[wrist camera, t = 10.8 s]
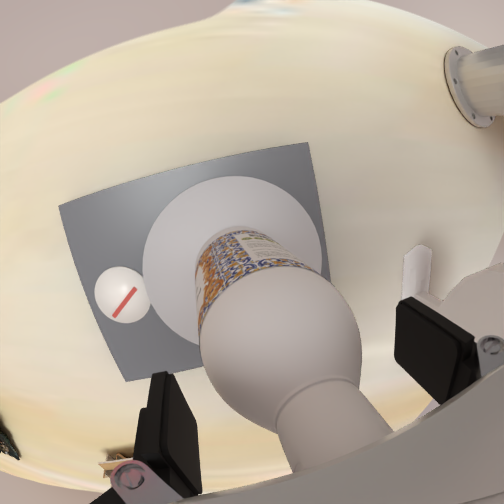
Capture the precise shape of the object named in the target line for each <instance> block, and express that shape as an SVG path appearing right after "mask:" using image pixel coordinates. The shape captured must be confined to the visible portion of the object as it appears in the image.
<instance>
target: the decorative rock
mask: <svg viewBox="0 0 504 504" xmlns="http://www.w3.org/2000/svg"><path fill="white" fill-rule="evenodd" d="M1 451H2V452H3V453H4V454H8V455H10V456H12V457H14V458H16V459H17V460H20V459H19V457H18V454H17V452H16V450H14V448H13V446H12V445H11V444H10V441H9V439H8V438H7V435H5V434H4V433H3V432H2V433H1V431H0V453H1Z"/></svg>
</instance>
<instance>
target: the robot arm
mask: <svg viewBox="0 0 504 504" xmlns="http://www.w3.org/2000/svg"><path fill="white" fill-rule="evenodd" d="M445 74H446V79H447V83H448V86H449V89H450V92H451V94H452V97H453V99H454V101H455V103H456V105H457V107H458V108H459V110H460V111H461V113H462V114H463V115H464V117H465V118H466V119H467V120H468V121H469V122H470V123H471V124H473V125H474V126H476V127H480V128H482V127H488V126H490V125H491V124H492V123H493V121H494V119H495V116H501V115H504V45H501V46H497V47H493V48H489V49H485V50H482V51H478V52H474V53H472V52H471V51H469V50H468V49H466V48H464V47H460V46H458V47H454V48H452V49H450V50H449V51H448V52H447V54H446V57H445ZM474 339H475V336H473V335H472V334H470V333H469V332H467V331H466V330H464V329H463V328H461V327H460V326H458V325H457V324H455V323H453V322H452V321H450V320H449V319H447V318H446V317H444V316H443V315H441V314H439V313H438V312H436V311H435V310H433V309H431V308H430V307H428V306H427V305H425V304H423V303H422V302H420V301H419V300H417V299H415V298H414V297H412V296H411V297H408V298H405V299H403V300H401V301H399V303H398V306H397V307H396V329H395V348H394V358H395V360H396V362H397V363H398V364H399V365H400V366H401V367H402V368H403V369H404V370H405V371H406V372H407V373H408V374H409V375H410V376H411V377H412V378H413V379H414V380H415V381H416V382H417V383H418V384H419V385H420V386H421V387H423V388H424V389H425V390H426V391H427V392H428V393H429V394H430V395H431V396H432V397H433V398H434V399H435V400H436V401H437V402H438V403H439V404H440V406H439V407H437V408H435V409H434V410H432V411H431V412H429V413H427V414H426V415H424V416H422V417H421V418H419V419H417V420H415V421H413V422H412V423H410V424H408V425H406V426H404V427H403V428H401V429H399V430H397V431H395V432H393V433H391V434H389V435H387V436H385V437H383V438H381V439H379V440H377V441H375V442H373V443H371V444H368V445H366V446H364V447H362V448H359V449H357V450H355V451H353V452H350V453H348V454H345V455H343V456H340V457H338V458H335V459H333V460H330V461H327V462H325V463H322V464H319V465H316V466H314V467H311V468H308V469H305V470H302V471H298V472H295V473H292V474H289V475H285V476H282V477H278V478H274V479H271V480H267V481H263V482H259V483H255V484H251V485H247V486H242V487H238V488H233V489H228V490H223V491H218V492H213V493H208V494H203V495H198V494H202V482H201V471H200V459H199V445H198V430H197V423H196V420H195V418H194V416H193V414H192V412H191V410H190V408H189V406H188V404H187V402H186V400H185V398H184V395H183V393H182V391H181V389H180V387H179V385H178V383H177V381H176V378H175V376H174V375H173V374H169V373H168V372H167V371H163V372H157V373H153V374H152V377H151V383H150V389H149V396H148V402H147V408H142V409H141V410H140V414H139V420H138V426H137V433H136V439H135V446H134V454H133V460H129V461H124V462H122V463H120V464H119V465H118V466H116V467H115V468H114V470H113V471H112V473H111V477H110V481H111V485H112V487H111V488H110V489H109V490H107V491H106V492H105V493H103V494H102V495H101V496H99V497H98V498H97V499H95V500H94V501H93V502H91V503H90V504H504V339H503V338H501V337H499V336H495V335H487V336H484V337H481V338H480V339H479V340H478V342H477V343H476V342H474Z"/></svg>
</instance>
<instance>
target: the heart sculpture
mask: <svg viewBox="0 0 504 504" xmlns="http://www.w3.org/2000/svg"><path fill="white" fill-rule="evenodd" d="M431 261H432V249H430V248H429V247H427V246H424V245H417V246H415V247H414V248H413V249H411V250H410V251H409V252H408V253H407V254H406V255H405V256H404V267H403V284H402V296H401V300H403V299H405V298H408V297H411V296H412V297H414V298H415V299H417V300H419V301H420V302H422V303H423V304H425V305H427V306H428V307H430V308H431V309H433V310H435V311H436V312H438V313H439V314H441V315H443V316H444V317H446V318H447V319H449V320H450V321H452V322H453V323H455V324H457V325H458V326H460V327H461V328H463V329H464V330H466V331H467V332H469V333H470V334H472V335H473V336H475V339H474V342H476V343H477V342H478V340H479V339H480V338H481V337H484V336H487V335H495V336H499V337H501V338H503V339H504V263H499V264H496V265H494V266H491V267H489V268H486V269H484V270H481V271H479V272H477V273H474V274H472V275H469V276H467V277H464V278H463V279H462V280H461V281H460V282H459V283H458V284H457V285H456V286H455V287H454V288H453V289H452V290H451V291H450V293H449V294H448V295H447V297H446V298H445V299H444V301H442V300H440V299H438V298H437V297H435V296H433V295H431V294H429V284H430V273H431Z"/></svg>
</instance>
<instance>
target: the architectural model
mask: <svg viewBox="0 0 504 504" xmlns="http://www.w3.org/2000/svg"><path fill="white" fill-rule="evenodd" d="M118 456H120V457H121V458H120V459H118V460H117V457H118ZM129 460H133V458H127V459H126V458H125V457H124V456H122V455H121V454H120V453H117V454H116V460H114V459H113V458H112V457H111V456H110V455H109V454H107V458H106V462H99V465H100V466H101V467H102V468H103V469H104V475H103V478H105V475H107V476H108V477H109V478H110V477H111V473H112V471H113V470H114V468H115V467H116V466H118V465H119V464H120V463H122V462H124V461H129ZM111 487H112V485H111Z"/></svg>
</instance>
